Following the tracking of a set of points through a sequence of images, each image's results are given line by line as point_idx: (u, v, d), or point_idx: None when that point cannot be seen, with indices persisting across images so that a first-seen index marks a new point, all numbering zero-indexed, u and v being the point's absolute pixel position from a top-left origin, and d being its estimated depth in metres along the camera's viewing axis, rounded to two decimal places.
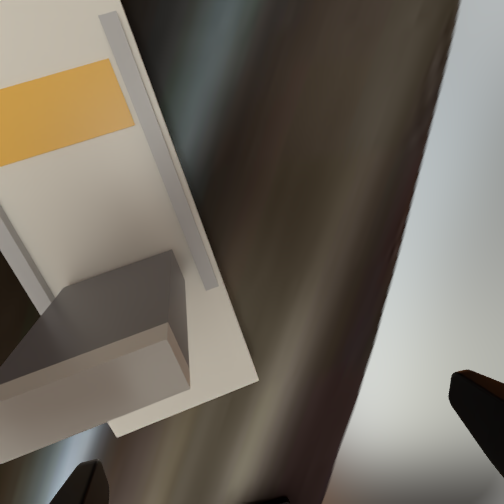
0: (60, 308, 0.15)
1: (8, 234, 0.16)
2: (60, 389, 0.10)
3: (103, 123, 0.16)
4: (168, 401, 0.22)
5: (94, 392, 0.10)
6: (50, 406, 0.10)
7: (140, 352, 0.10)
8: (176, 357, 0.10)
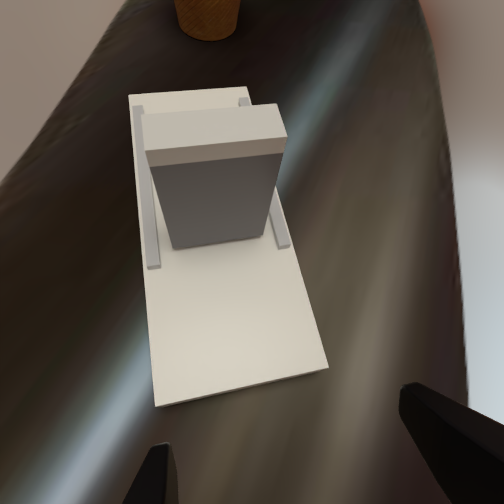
0: None
1: (149, 181, 0.23)
2: (204, 114, 0.14)
3: None
4: (224, 368, 0.19)
5: (223, 121, 0.14)
6: (193, 122, 0.14)
7: (258, 107, 0.15)
8: (280, 117, 0.15)
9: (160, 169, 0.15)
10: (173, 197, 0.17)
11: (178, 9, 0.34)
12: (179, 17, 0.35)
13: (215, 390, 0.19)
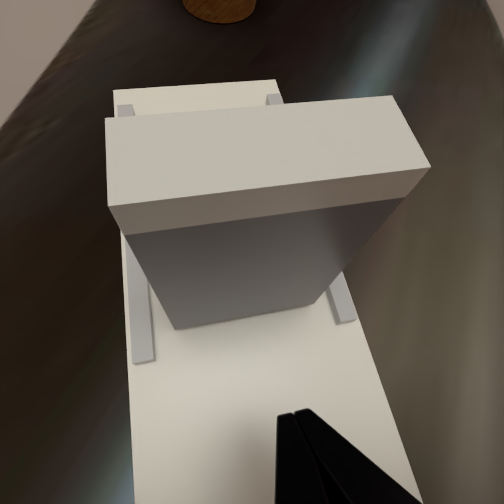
0: None
1: None
2: (245, 118, 0.07)
3: None
4: None
5: (288, 134, 0.07)
6: (223, 137, 0.06)
7: (358, 102, 0.07)
8: None
9: (149, 237, 0.07)
10: (177, 276, 0.09)
11: None
12: None
13: None
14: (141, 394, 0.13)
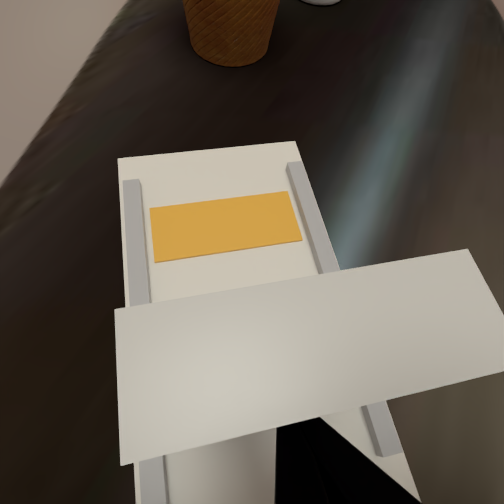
0: None
1: None
2: (292, 297, 0.05)
3: (273, 236, 0.17)
4: None
5: (347, 320, 0.05)
6: (266, 331, 0.05)
7: (427, 262, 0.06)
8: (485, 291, 0.06)
9: None
10: None
11: (191, 24, 0.24)
12: (192, 35, 0.25)
13: None
14: None
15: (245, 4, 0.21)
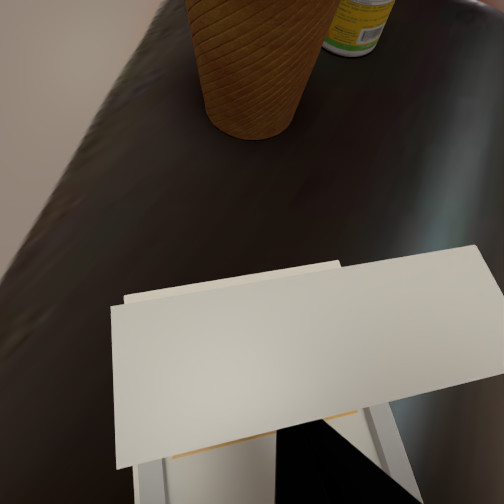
0: None
1: None
2: (294, 294, 0.05)
3: None
4: None
5: (352, 319, 0.05)
6: (268, 329, 0.05)
7: (434, 258, 0.06)
8: (494, 289, 0.05)
9: None
10: None
11: (207, 96, 0.21)
12: (208, 105, 0.21)
13: None
14: None
15: (274, 83, 0.18)
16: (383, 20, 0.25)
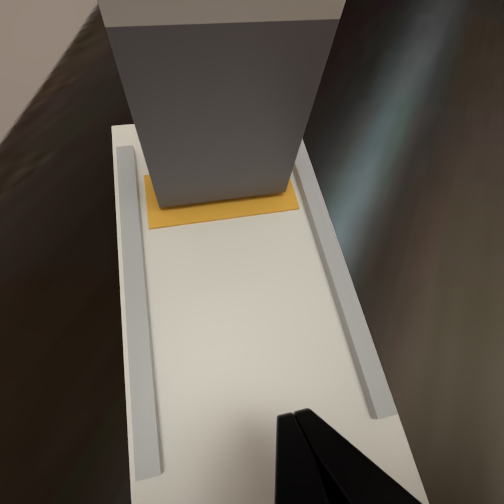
0: None
1: (142, 288, 0.13)
2: None
3: (269, 204, 0.16)
4: None
5: None
6: None
7: None
8: None
9: (126, 36, 0.08)
10: (154, 107, 0.10)
11: None
12: None
13: None
14: None
15: None
16: None
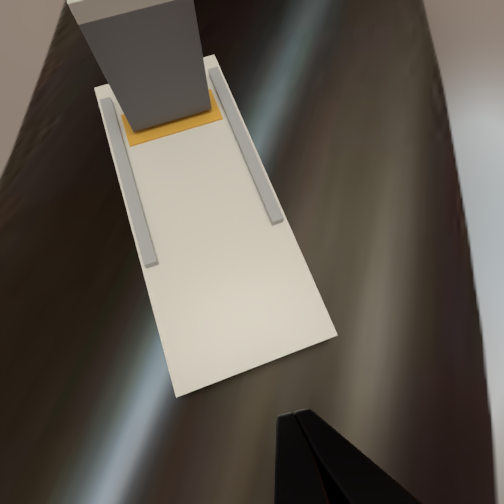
0: None
1: (131, 177, 0.23)
2: None
3: (203, 119, 0.25)
4: (235, 351, 0.20)
5: None
6: None
7: None
8: None
9: (89, 27, 0.17)
10: (112, 62, 0.19)
11: None
12: None
13: (230, 374, 0.19)
14: (153, 283, 0.21)
15: None
16: None
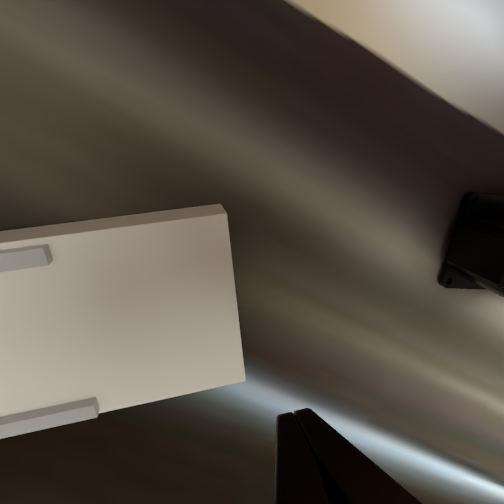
0: None
1: None
2: None
3: None
4: (217, 326, 0.18)
5: None
6: None
7: None
8: None
9: None
10: None
11: None
12: None
13: (238, 333, 0.18)
14: (120, 401, 0.18)
15: None
16: None
